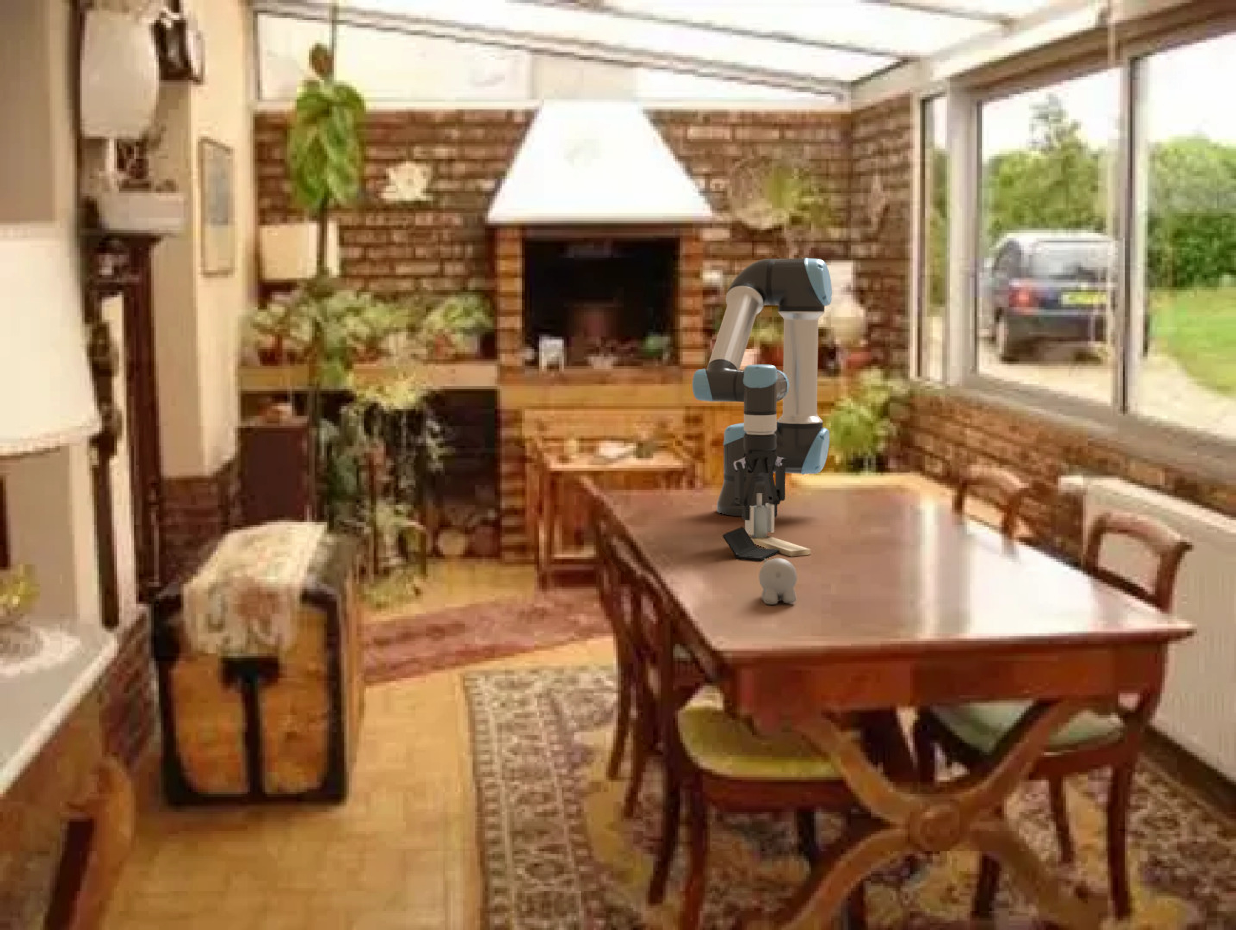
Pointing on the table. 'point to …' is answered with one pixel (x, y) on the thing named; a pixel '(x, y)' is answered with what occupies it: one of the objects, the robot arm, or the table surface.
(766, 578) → the toy rhinoceros
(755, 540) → the batten
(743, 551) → the handheld gaming console
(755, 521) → the grey bottle
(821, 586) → the table surface
